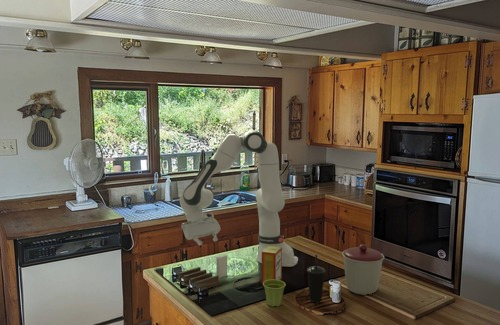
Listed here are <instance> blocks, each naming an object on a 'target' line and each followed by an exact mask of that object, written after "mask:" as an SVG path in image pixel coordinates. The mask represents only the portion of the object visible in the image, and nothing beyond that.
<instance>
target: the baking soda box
mask: <svg viewBox="0 0 500 325" xmlns="http://www.w3.org/2000/svg"><path fill="white" fill-rule="evenodd" d="M282 267H283V266H282V247H274V246H268V247H267V248H266V249H264V250H263V251H262V263H261V285H263V282H264V281H266V280H281V281H282V280H283V278H282V277H283V276H282V275H283V274H282V273H283V272H282V270H283V268H282Z"/></svg>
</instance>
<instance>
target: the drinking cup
mask: <svg viewBox="0 0 500 325" xmlns="http://www.w3.org/2000/svg"><path fill="white" fill-rule="evenodd" d="M314 259H315V264H314V265H313V266H309V267H307V268H306V271H307V272H306V273H307V281H308V282H307V283H308V293H309V294H308V295H309V301H310V300H311V301H313V302H320V301H321V302H322V300H323V299H322V298H323V297H322V296H323V290H324V289H323V288H324V280H325V273H326V269H325V268H324V267H321V266H318V254H315V258H314ZM321 302H320V303H321Z"/></svg>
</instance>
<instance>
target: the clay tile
mask: <svg viewBox="0 0 500 325" xmlns="http://www.w3.org/2000/svg"><path fill="white" fill-rule="evenodd" d="M215 259H216V260H215V264H216V275H218V276H219V279H220V278H224V277H226V276H228V255H227V254H222V255H218V256H216V258H215Z"/></svg>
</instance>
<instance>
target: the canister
mask: <svg viewBox="0 0 500 325" xmlns="http://www.w3.org/2000/svg"><path fill="white" fill-rule="evenodd" d="M341 255H342V257H343V264H344V277H345V284H346V287H347V289H348V290H349V291H350V292H352V293H354V294H357V295H362V296H368V295H367V294H369V295H373V294H374V292H375V293H376V292H377V290H378V289H379V284H380V278H381V274H382V266H383V261H384V260H385V256H384V254H383V253H382V252H380V251H378V250H376V249H373V248H371V247H368V246H367V245H366V244H362V243H361V244H359V246H355V247H349V248H347V249H345V250H343V251H342V254H341ZM372 293H373V294H372Z"/></svg>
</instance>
